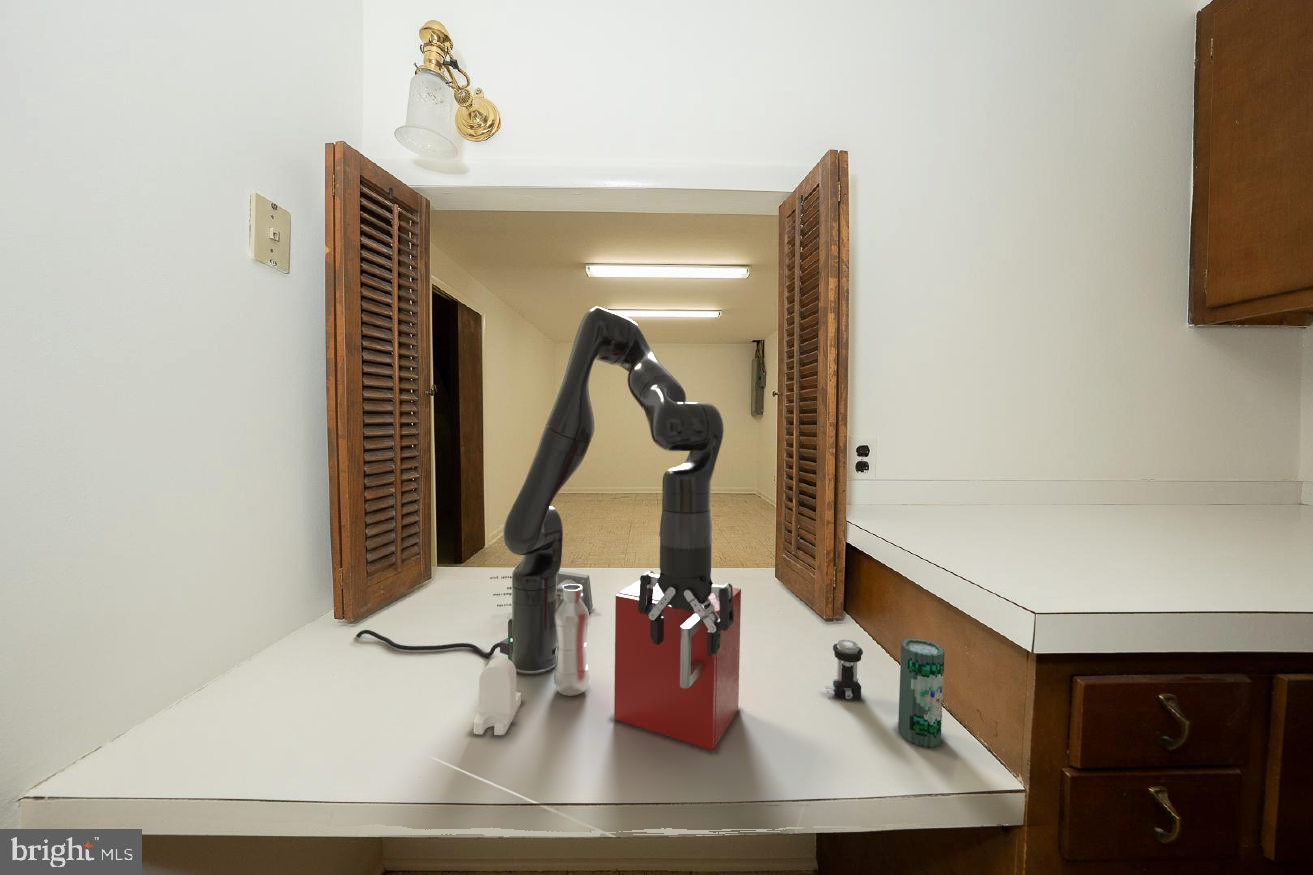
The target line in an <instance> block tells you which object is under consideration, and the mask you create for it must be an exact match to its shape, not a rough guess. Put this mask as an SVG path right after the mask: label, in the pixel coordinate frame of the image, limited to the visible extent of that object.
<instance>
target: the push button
mask: <svg viewBox="0 0 1313 875" xmlns="http://www.w3.org/2000/svg"><path fill="white" fill-rule="evenodd" d="M832 651H833V654H834V657H835V658H836V659H837V660H836V664H837V665H836V676H835V678H833V679H832V685H825V686H824V688H825V689H826V690H824V694H831V695H834V697H835V698H841V699H842V698H843V699H846V700H851V699H856V700H861V699H862V685H861V684H860V682H859V678H858V662H861V661H862V655H864V650H863V649H862V647H861V646H859V644H858V642H856V641H853V640H850V639H840V640H838V641H837V643H834V644H833V645H832ZM827 689H828V690H827Z"/></svg>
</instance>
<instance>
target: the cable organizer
mask: <svg viewBox="0 0 1313 875" xmlns="http://www.w3.org/2000/svg"><path fill="white" fill-rule="evenodd" d="M478 679H479V680H478V709H479V710H478V713H477V715H476V716H475V718H474V720H473V734H474V735H483V734H484V732H485V731H486V729H487V728H489V727H494V728H493V732H494V733H493V735H494V736H503V735H505V734H506V733H507V731H508V729H509V727H510V725H511V723H512V721H513V720H514V718H515V716H516V714H517V712H518V710H519V708H520V706H521V704H522V693H521V692H520V691H517V672H516V668H515V666H514V664H513V663H512V661H510V660H509V659H508V657H504V656H499V657H495V658H492V659H491V660H490V661H489V662H488V664H487V665H486V667H485V668H484V669H483V671H481V673H480V675H479V678H478Z"/></svg>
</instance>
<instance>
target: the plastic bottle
mask: <svg viewBox="0 0 1313 875" xmlns="http://www.w3.org/2000/svg"><path fill="white" fill-rule="evenodd" d="M562 598H563V600H562V602H561V603H560V604H559V606H558V607H557V609H556V611H555V614H554V619H555V627H556V634H557V650H558V651H557V663H556V666H555V667H554V675H553V684H554V688H555V690H557V692H558V693H559V694H561V695H563V696H566V697H567V696H569V697H573V696H578V695H581V694H583V693H584V692H585V690H587V688H588V686H589V682H590V672H589V667H588V660H587V659H588V658H587V635H588V634H587V633H588V628H589V620H590V613H589V611H588V609H587V608H586V606H585V604H584V603H583V602H582V600H581V598H582V586H580V585H577V584H569V585H565V586H563V588H562Z"/></svg>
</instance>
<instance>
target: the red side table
mask: <svg viewBox="0 0 1313 875" xmlns="http://www.w3.org/2000/svg"><path fill="white" fill-rule="evenodd" d="M657 602H658V601H653V604H652V605H654V606H655V605H656V604H657ZM638 603H639V598H637V597H632V596H627V595H622V594H619V593H617V594H615V604H614V605H615V606H614V607H615V610H614V614H615V615H614V616H615V617H614V620H615V621H614V695H613V696H614V698H613V699H614V703H613V704H614V705H613V707H614V708H613V709H614V710H613V711H614V712H613V720H615V721H619V722H622V723H625V724H629V725H631V726H634V727H637V728H639V729H640V728H641V729H644V730H647V731H650V732H653V733H656V734H660V735H663V736H666V737H669V738H671V739H675V740H678V741H681V742H685V743H687V744H691V745H694V746H697V747H700V748H703V749H707V750H709V751H714V749H715V746H714V742H715V694H716V654H715V655H714V656H713V657H708V656H707V632H708V631H709V630H708V628H707V626H706V625H705V623H704V622H703V620H701V619H700V618H699V617H698V615H697V614H696V612H695V611H693V612H689V611H686V610H684V609H673V608H672V606H671V605H669V606H668V607H667V608H666V610H665V611H664V612H663V613H662V617H664V639H663V642H662V643H660V644H659V645H655V644H653V640H651V637H650V618H649V616H647V615H646V614H640V613H639V611H638Z"/></svg>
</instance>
